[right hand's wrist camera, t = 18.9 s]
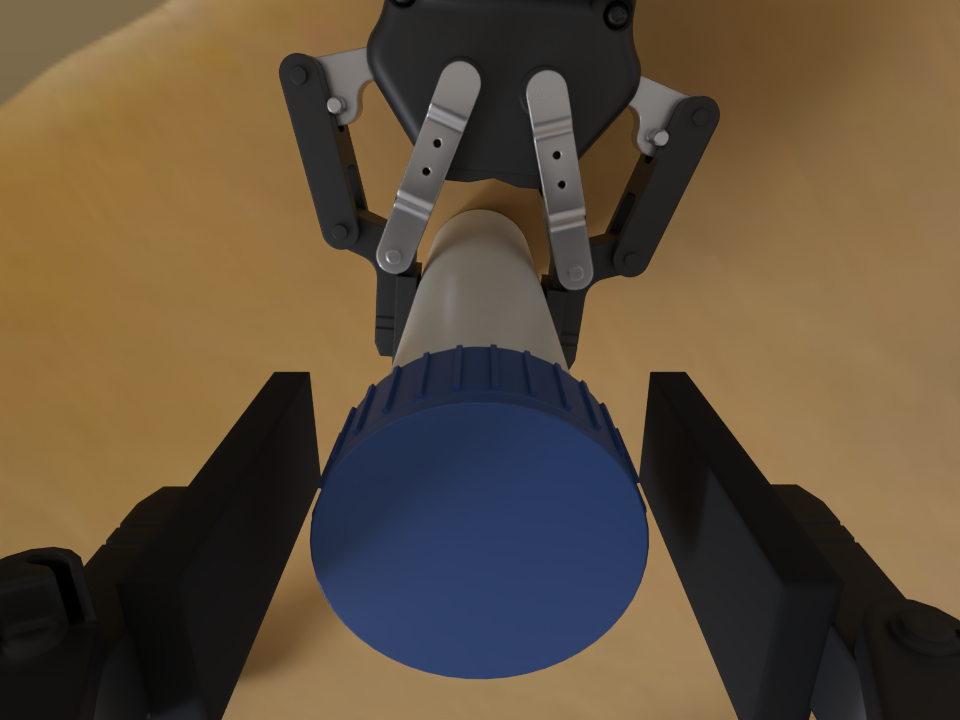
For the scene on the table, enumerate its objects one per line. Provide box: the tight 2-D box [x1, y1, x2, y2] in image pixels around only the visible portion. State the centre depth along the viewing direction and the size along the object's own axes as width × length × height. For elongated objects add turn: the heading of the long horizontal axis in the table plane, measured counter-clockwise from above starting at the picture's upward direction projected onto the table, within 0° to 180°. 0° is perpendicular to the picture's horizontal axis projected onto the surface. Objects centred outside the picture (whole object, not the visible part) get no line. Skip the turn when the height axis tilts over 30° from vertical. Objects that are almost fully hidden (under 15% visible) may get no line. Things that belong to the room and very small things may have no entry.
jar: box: [389, 209, 570, 375], centre depth 20 cm, size 4×4×20 cm
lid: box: [310, 344, 649, 679], centre depth 11 cm, size 6×6×2 cm
